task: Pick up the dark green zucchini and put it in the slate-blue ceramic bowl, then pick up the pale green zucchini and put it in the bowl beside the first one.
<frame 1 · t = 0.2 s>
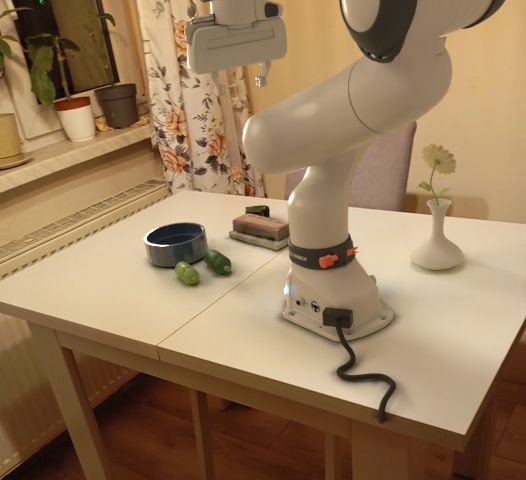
hand: (241, 90, 113), 38 cm above the table, tool pointing down, fingers open, 8 cm apart
flower in vase: (433, 262, 126), on the table
pale zucchini: (188, 280, 132), on the table
bowl: (179, 255, 145), on the table
tape measure: (257, 220, 160), on the table
zucchini: (219, 269, 135), on the table
packaged product: (265, 238, 148), on the table
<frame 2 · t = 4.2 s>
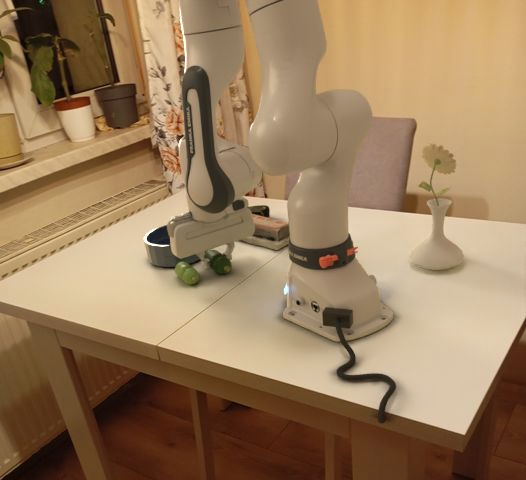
hand: (218, 263, 134), 2 cm above the table, tool pointing down, fingers closed on zucchini, 4 cm apart
zucchini: (218, 269, 135), on the table, touching gripper
everything else where it was.
when the fingers open (2 cm above the table, at t = 11.9 s): zucchini stays where it is, resting on bowl.
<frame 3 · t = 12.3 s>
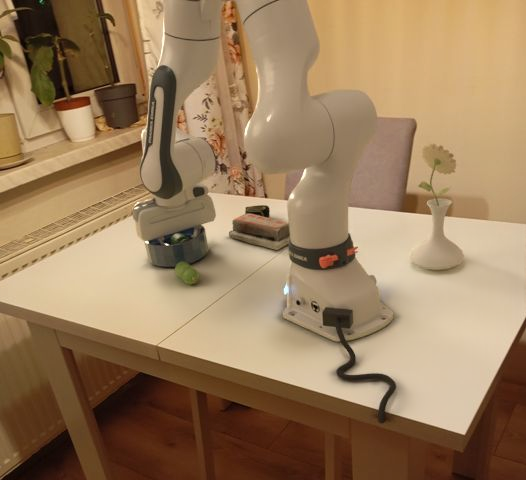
hand: (181, 247, 144), 2 cm above the table, tool pointing down, fingers open, 6 cm apart
zucchini: (183, 251, 145), point 1 cm above the table, touching bowl
everything else where it was.
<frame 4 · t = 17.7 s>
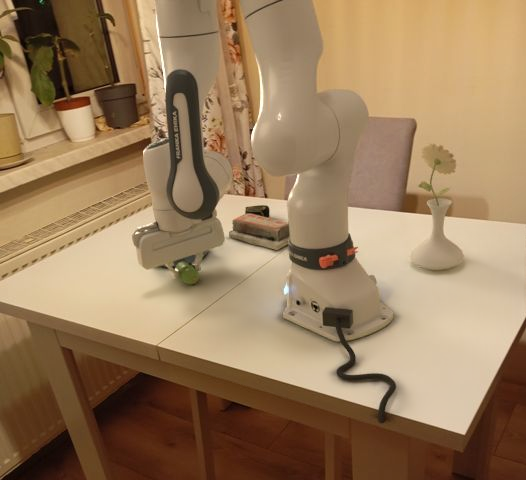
hand: (187, 274, 131), 2 cm above the table, tool pointing down, fingers closed on pale zucchini, 4 cm apart
pale zucchini: (188, 280, 132), on the table, touching gripper
zucchini: (183, 251, 145), point 1 cm above the table, tilted 17°, touching bowl
everything else where it was.
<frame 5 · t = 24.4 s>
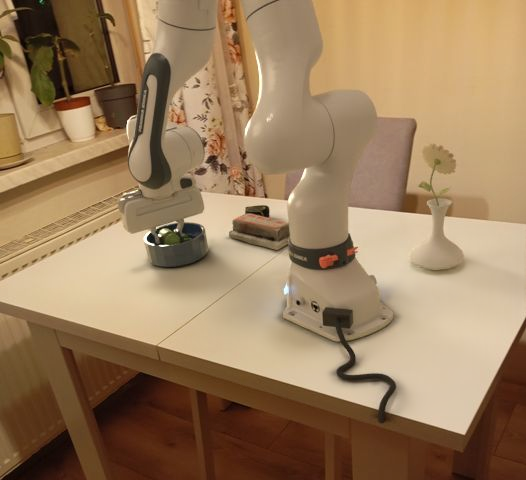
hand: (169, 239, 142), 5 cm above the table, tool pointing down, fingers closed on pale zucchini, 4 cm apart
pale zucchini: (170, 245, 142), point 3 cm above the table, touching gripper
everything else where it was.
when the fingers open (6 cm above the table, at t = 30.5 s): pale zucchini drops 2 cm and tips over, resting on bowl.
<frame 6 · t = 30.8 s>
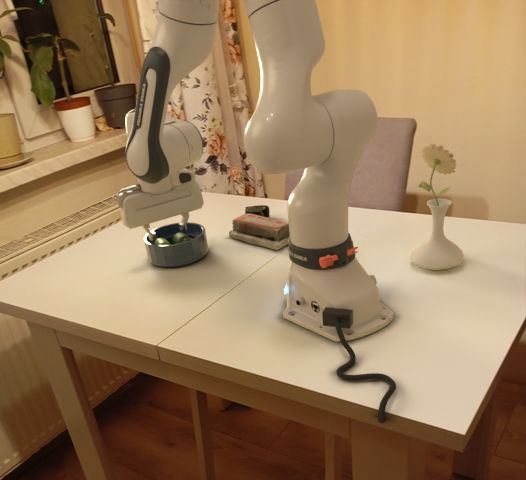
hand: (168, 235, 141), 6 cm above the table, tool pointing down, fingers open, 7 cm apart
pale zucchini: (171, 250, 144), point 2 cm above the table, tilted 63°, touching bowl
everything else where it was.
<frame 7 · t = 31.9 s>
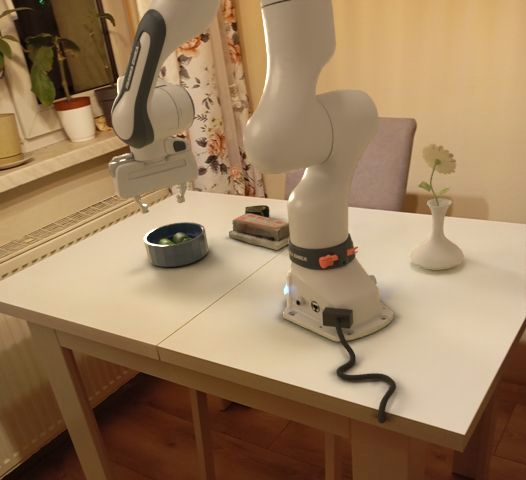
hand: (163, 207, 137), 13 cm above the table, tool pointing down, fingers open, 8 cm apart
pale zucchini: (173, 253, 144), point 1 cm above the table, tilted 32°, touching bowl
everything else where it was.
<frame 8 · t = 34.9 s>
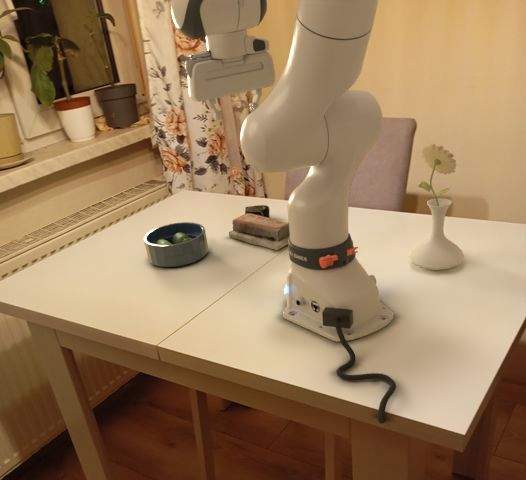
hand: (236, 115, 129), 31 cm above the table, tool pointing down, fingers open, 8 cm apart
pale zucchini: (172, 251, 144), point 1 cm above the table, tilted 52°, touching bowl
everything else where it was.
at the end: zucchini inside the target area in the bowl (1.5 cm from its centre), point 0.7 cm above the bowl's base; pale zucchini inside the target area in the bowl (1.4 cm from its centre), point 1.4 cm above the bowl's base; the gripper is holding nothing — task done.
